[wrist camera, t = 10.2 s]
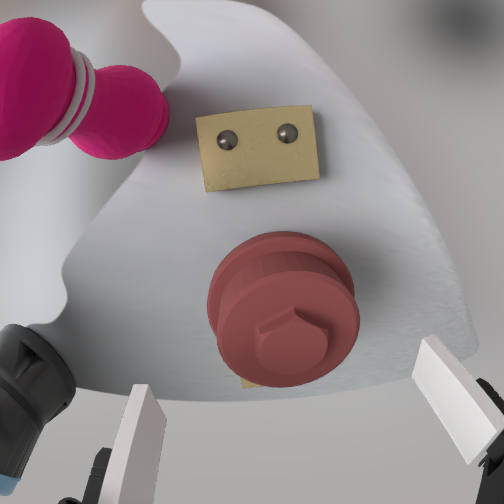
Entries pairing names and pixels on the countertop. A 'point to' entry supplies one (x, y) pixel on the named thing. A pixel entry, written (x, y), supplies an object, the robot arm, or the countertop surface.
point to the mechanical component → (283, 309)
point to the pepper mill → (72, 97)
